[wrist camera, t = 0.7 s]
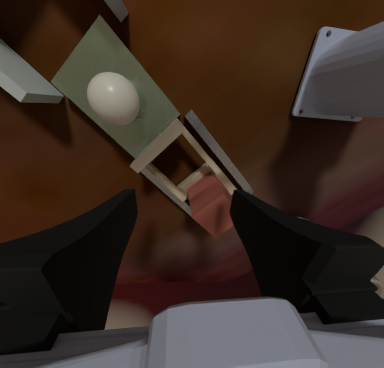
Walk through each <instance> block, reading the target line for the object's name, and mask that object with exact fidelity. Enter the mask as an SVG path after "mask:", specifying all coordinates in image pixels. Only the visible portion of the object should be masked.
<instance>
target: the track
mask: <svg viewBox="0 0 384 368" xmlns="http://www.w3.org/2000/svg"><path fill="white" fill-rule="evenodd" d="M103 72H113V73H117V74H119V75H122V76H123V77H125V78H126V79H127V80H129V81H130V82H131V83H132V85H133V86H134V87H135V89H136V91H137V93H138V96H139V100H140V109H139V113H138V115H137V117H136V118H135V119H134V120H133V121H132V122H131V123H129V124H127V125H122V126H116V125H111V124H108V123H106V122H104V121H103V120H101V119H100V118H99V117H98V116H97V115H96V114H95V113H94V112H93V110H92V109H91V107H90V105H89V102H88V98H87V88H88V85H89V83H90V81H91V79H92V78H93V77H94V76H96V75H97V74H99V73H103ZM51 82H52V83H53V84H54V85H55V86H56V87H57V88H58V89H59V90H60V91H61V92H63V93H64V94H65V95H66V96H67V97H68V98H69V99H70V100H71V101H72V102H73V103H75V104H76V105H77V106H78V107H79V108H80V109H81V110H82V111H83V112H84V113H86V114H87V115H88V116H89V117H90V118H91V119H92V120H93V121H94V122H95V123H97V124H98V125H99V126H100V127H101V128H102V129H103V130H104V131H105V132H106V133H108V134H109V135H110V136H111V137H112V138H113V139H114V140H115V141H116V142H117V143H118V144H120V145H121V146H122V147H123V148H124V149H125V150H126V151H127V152H128V153H129V154H131V155H132V156H133V157H134V158H136V157H137V156H138V155H139V154H140V153H141V152H142V151H143V150H144V149H145V148H146V147H147V146H148V145H149V144H150V143H151V142H152V141H153V140H154V139H156V138H157V137H158V136H159V135H160V134H161V133H162V132H163V131H164V130H165V129H166V128H167V127H168V126H169V125H170V124H171V123H172V122H173V121H174V120H175V119H176V118H177V117H178V116H179V115H180V113H179V112H178V110H177V109H176V108H175V107H174V105H173V104H172V103H171V102H170V100H169V99H168V98H167V97H166V96H165V94H164V93H163V92H162V91H161V89H160V88H159V87H158V86H157V84H156V83H155V82H154V81H153V79H152V78H151V77H150V76H149V75H148V73H147V72H146V71H145V70H144V68H143V67H142V66H141V65H140V63H139V62H138V61H137V60H136V59H135V57H134V56H133V55H132V54H131V52H130V51H129V50H128V49H127V47H126V46H125V45H124V44H123V42H122V41H121V40H120V39H119V38H118V36H117V35H116V34H115V33H114V31H113V30H112V29H111V28H110V26H109V25H108V24H107V23H106V22H105V20H104V19H103V18H102V17H101V16H100V15H99V16H98V18H97V19H96V20H95V22H94V23H93V24H92V26H91V27H90V29H89V30H88V31H87V33H86V34H85V35H84V37H83V38H82V40H81V41H80V42H79V44H78V45H77V46H76V48H75V49H74V51H73V52H72V53H71V55H70V56H69V57H68V59H67V60H66V62H65V63H64V64H63V66H62V67H61V68H60V70H59V71H58V73H57V74H56V75H55V77H54V78H53V79H52V81H51ZM185 117H186V119H187V120H188V121H189V122H190V124H191V125H192V126H193V127H194V129H195V130H196V131H197V132H198V134H199V135H200V136H201V137H202V139H203V140H204V141H205V142H206V144H207V145H208V146H209V147H210V149H211V150H212V151H213V152H214V153H215V155H216V156H217V157H218V158H219V160H220V161H221V162H222V163H223V165H224V166H225V167H226V168H227V170H228V171H229V172H230V173H231V175H232V176H233V177H234V178H235V180H236V181H237V182H238V183H239V185H240V186H241V187H242V189H241V190H244V191H246V192H248V193H249V194H252V193H254V191H253V189H252V188H251V187H250V185H249V184H248V183H247V181H246V180H245V179H244V177H243V176H242V175H241V174H240V172H239V171H238V170H237V168H236V167H235V166H234V164H233V163H232V162H231V161H230V159H229V158H228V157H227V155H226V154H225V153H224V151H223V150H222V149H221V147H220V146H219V145H218V144H217V142H216V141H215V140H214V138H213V137H212V136H211V134H210V133H209V132H208V131H207V129H206V128H205V127H204V125H203V124H202V123H201V121H200V120H199V119H198V117H197V116H196V115H195V114H194V112H193V111H192V110H190V111H189V112H188V113H187V114H186V115H185ZM140 172H141V173H143V174H144V175H145V176H146V177H147V178H148V179H149V180H151V181H152V182H153V183H154V184H155V185H156V186H157V187H158V188H160V189H161V190H162V191H163V192H164V193H165V194H166V195H167V196H169V197H170V198H171V199H172V200H173V201H174V202H175V203H177V204H178V205H179V206H180V207H181V208H182V209H183V210H184V211H186V212H187V213H188V214H189V215H190V216H191V209H190V203H189V202H188V201H187V200H185V201H183V202H182V201H181V200H180V199H179V198H178V197H177V196H176V195H175V194H173V193H172V192H171V191H170V190H169V189H168V188H167V187H166V186H165V185H164V184H163V183H161V182H160V181H159V180H158V179H157V178H156V177H155V176H154V175H153V174H152V173H150V172H149V171H148V170H147V169H146V168H145V167H144V168H143V169H142V170H141V171H140ZM191 217H192V216H191Z"/></svg>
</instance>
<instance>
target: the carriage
mask: <svg viewBox="0 0 384 368" xmlns="http://www.w3.org/2000/svg"><path fill="white" fill-rule="evenodd" d="M181 133H182V134H183V136H184V137H185V138H186V139H187V140H188V141H189V143H190V144H191V145H192V146H193V147H194V148H195V150H196V151H197V152H198V153H199V154H200V155H201V157H202V158H203V159H204V160H205V161H206V163H205V164H203V165H202V166H201V167H200V168H199V169H197V170H196V171H195V172H194V173H192V174H191V175H190V176H189V177H188V178H186V179H185V180H184V181H183V182H182V183H180V184H179V185H178V186H177V187H176V186H175V185H174V184H173V183H172V182H171V181H170V180H169V179H168V178H167V177H166V176H165V175H163V174H162V173H161V172H160V171H159V170H158V169H157V168H156V167H155V166H154V165H153V164H152V163H151V161H152V160H153V159H154V158H155V157H156V156H157V155H159V154H160V153H161V152H162V151H163V150H164V149H165V148H166V147H167V146H168V145H169V144H170V143H172V142H173V141H174V140H175V139H176V138H177V137H178V136H179V135H180V134H181ZM130 167H131V168H132V169H133V170H135V171H136V172H137V173H139V172H140V171H141V170H142V169H143V168H144V167H145V168H146V169H147V170H148V171H149V172H150V173H152V174H153V175H154V176H155V177H156V178H157V179H158V180H159V181H160V182H161V183H163V184H164V185H165V186H166V187H167V188H168V189H169V190H170V191H171V192H172V193H173V194H175V195H176V196H177V197H178V198H179V199H180V200H181V201H182V202H183V201H185V200H186V198H187V199H188V200H189V202H190V209H191V216H192V218H193V219H194V220H195V221H196V222H198V223H199V224H200V225H201V226H202V227H203V228H204V229H205V230H207V231H208V232H209V233H210V234H211V235H212V236H213V237H215V238H216V237H217V236H219V235H220V234H222V233H223V232H224V231H226V230H227V229H229V228H230V227H232V226H233V222H232V219H231V216H230V212H229V211H230V206H231V201H232V196H231V195H232V194H233V191H234V190H237V189H236V188H235V186H234V185H233V184H232V183H231V181H230V180H229V179H228V178H227V177H226V175H225V174H224V173H223V172H222V171H221V169H220V168H219V167H218V166H217V165H216V163H215V162H214V161H213V160H212V159H211V158H210V157H209V156H208V155H207V153H206V152H205V151H204V150H203V149H202V147H201V146H200V145H199V144H198V143H197V141H196V140H195V139H194V138H193V137H192V135H191V134H190V133H189V132H188V131H187V129H186V128H185V127H184V126H183V125H182V123H181V122H180V121H179V120H178V118H177V119H175V120H174V121H173V122H172V123H171V124H170V125H169V126H168V127H167V128H166V129H165V130H164V131H163V132H162V133H161V134H160V135H159V136H158V137H157V138H156V139H155V140H154V141H153V142H152V143H151V144H149V145H148V146H147V147H146V148H145V149H144V150H143V151H142V152H141V153H140V154H139V155H138V156H137V157H136V158H135V160H134V161H133V162H132V164H131V165H130Z"/></svg>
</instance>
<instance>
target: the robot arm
mask: <svg viewBox="0 0 384 368" xmlns="http://www.w3.org/2000/svg"><path fill="white" fill-rule="evenodd" d="M326 33H328V36H327V37H326ZM300 110H301V113H300V114H299V111H300ZM291 114H292V115H293V116H300V117H311V118H322V119H333V120H344V121H355V122H358V121H360V120H362V118H363V117H373V118H384V22H381V23H379V24H376V25H374V26H371V27H369V28H367V29H364V30H362V31H359V32H356V31H350V30H344V29H338V28H332V27H323V28H321V29H320V30H319V31H318V33H317V35H316V38H315V41H314V44H313V47H312V50H311V53H310V56H309V60H308V63H307V66H306V69H305V72H304V75H303V78H302V81H301V84H300V87H299V90H298V93H297V96H296V99H295V102H294V105H293V108H292V112H291ZM351 116H352V117H351ZM229 212H230V216H231V219H232V222H233V225H234V227H235V229H236V231H237V233H238V235H239V237H240V239H241V241H242V243H243V245H244V247H245V249H246V251H247V254H248V256H249V259H250V262H251V264H252V267H253V270H254V273H255V276H256V279H257V282H258V285H259V288H260V291H261V294H262V297H255V298H241V299H227V300H212V301H198V302H187V303H182V304H178V305H173V306H169V307H168V308H166V309H164V310H163V311H161V312H160V313H158V314H157V315H156V316H155V317H154V318H153V320H152V323H151V325H150V326H146V327H133V328H122V329H110V330H104V329H105V324H106V320H107V315H108V310H109V306H110V302H111V298H112V293H113V289H114V286H115V282H116V278H117V274H118V270H119V267H120V263H121V260H122V257H123V254H124V251H125V249H126V246H127V244H128V241H129V239H130V236H131V234H132V231H133V229H134V226H135V222H136V218H137V214H138V212H137V204H136V196H135V189H125V190H123V191H121V192H120V193H118V194H117V195H115V196H114V197H112V198H110V199H109V200H107V201H106V202H104V203H102V204H101V205H99V206H97V207H96V208H94V209H92V210H90V211H88V212H86V213H84V214H82V215H80V216H78V217H76V218H74V219H72V220H69V221H67V222H64V223H62V224H59V225H57V226H54V227H52V228H49V229H46V230H43V231H41V232H38V233H34V234H31V235H28V236H25V237H22V238H19V239H15V240H11V241H8V242H4V243H0V368H384V298H383V299H382V298H381V297H380V296H379V295H378V294H377V293H376V292H375V291H377V290H378V287H377V286H376V285H375V284H373V283H372V282H371V281H370V280H371V279H372V278H373V277H374V276H375V274H376V273H377V272H378V271H379V270H380V269H381V268H382V267H383V265H384V248H383V247H382V246H380V245H379V244H377V243H376V242H375V241H373V240H371V239H370V238H368V237H365V236H361V235H356V234H352V233H348V232H343V231H339V230H336V229H332V228H328V227H325V226H321V225H318V224H315V223H312V222H309V221H306V220H303V219H300V218H298V217H295V216H293V215H290V214H288V213H286V212H283V211H281V210H279V209H277V208H275V207H273V206H271V205H269V204H267V203H265V202H264V201H262V200H260V199H258V198H257V197H255V196H253V195H251V194H249V193H248V192H246V191H244V190H234V191H233V196H232V201H231V206H230V211H229Z"/></svg>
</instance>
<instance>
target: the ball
mask: <svg viewBox="0 0 384 368" xmlns="http://www.w3.org/2000/svg"><path fill="white" fill-rule="evenodd" d="M87 98H88V102H89V105H90V107H91V109H92V110H93V112H94V113H95V114H96V115H97V116H98V117H99V118H100V119H101V120H103V121H104V122H106V123H108V124H111V125H116V126H122V125H127V124H129V123H131V122H132V121H133V120H134V119H135V118H136V117H137V115H138V113H139V109H140V100H139V96H138V93H137V91H136V89H135V87H134V86H133V85H132V83H131V82H130V81H129V80H127V79H126V78H125V77H123V76H122V75H119V74H117V73H113V72H103V73H99V74H97V75H96V76H94V77H93V78H92V79H91V81H90V83H89V85H88V88H87Z"/></svg>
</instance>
